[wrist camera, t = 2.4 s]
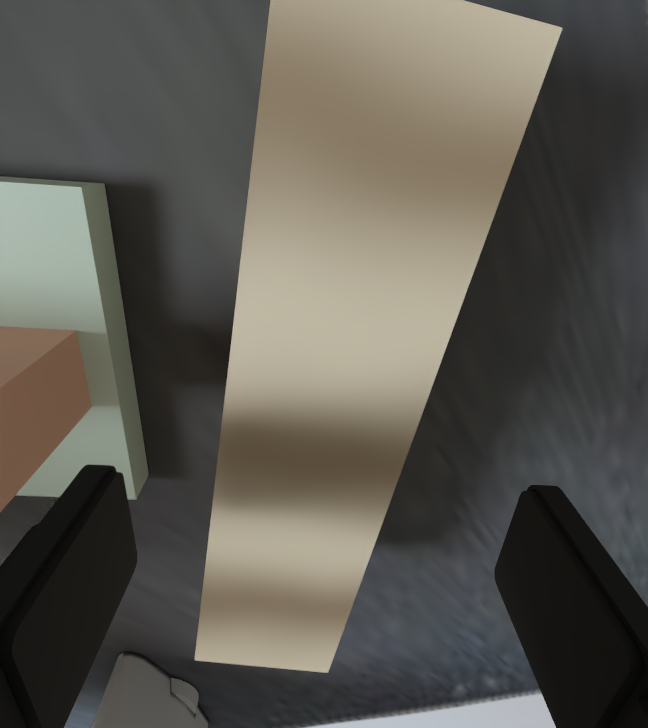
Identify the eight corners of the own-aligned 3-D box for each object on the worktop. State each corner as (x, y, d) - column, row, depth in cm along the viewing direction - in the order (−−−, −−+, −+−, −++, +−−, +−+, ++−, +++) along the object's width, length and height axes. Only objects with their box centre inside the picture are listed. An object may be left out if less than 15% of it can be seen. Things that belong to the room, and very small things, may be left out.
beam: (293, 37, 12) (276, -51, 7) (458, 79, 13) (562, 27, 7) (225, 529, 21) (194, 660, 16) (324, 542, 21) (327, 672, 16)
